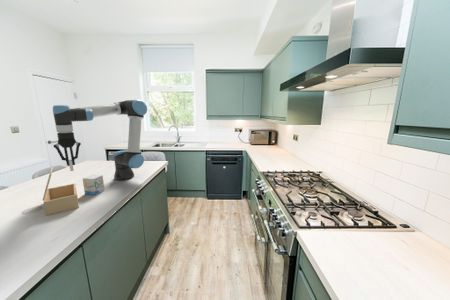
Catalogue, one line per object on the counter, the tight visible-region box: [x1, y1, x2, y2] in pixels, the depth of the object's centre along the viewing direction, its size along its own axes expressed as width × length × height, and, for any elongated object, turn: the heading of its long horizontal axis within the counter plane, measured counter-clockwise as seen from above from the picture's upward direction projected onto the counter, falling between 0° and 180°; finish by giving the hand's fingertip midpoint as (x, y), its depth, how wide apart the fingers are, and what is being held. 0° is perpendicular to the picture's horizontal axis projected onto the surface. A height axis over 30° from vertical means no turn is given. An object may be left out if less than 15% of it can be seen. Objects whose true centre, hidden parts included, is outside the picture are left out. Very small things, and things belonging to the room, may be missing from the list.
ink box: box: [82, 174, 106, 196], centre depth 132 cm, size 8×8×12 cm
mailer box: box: [42, 183, 80, 216], centre depth 116 cm, size 14×23×8 cm, turn 39°
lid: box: [42, 166, 54, 202], centre depth 111 cm, size 14×22×1 cm
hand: (72, 170), depth 117 cm, fingers closed
